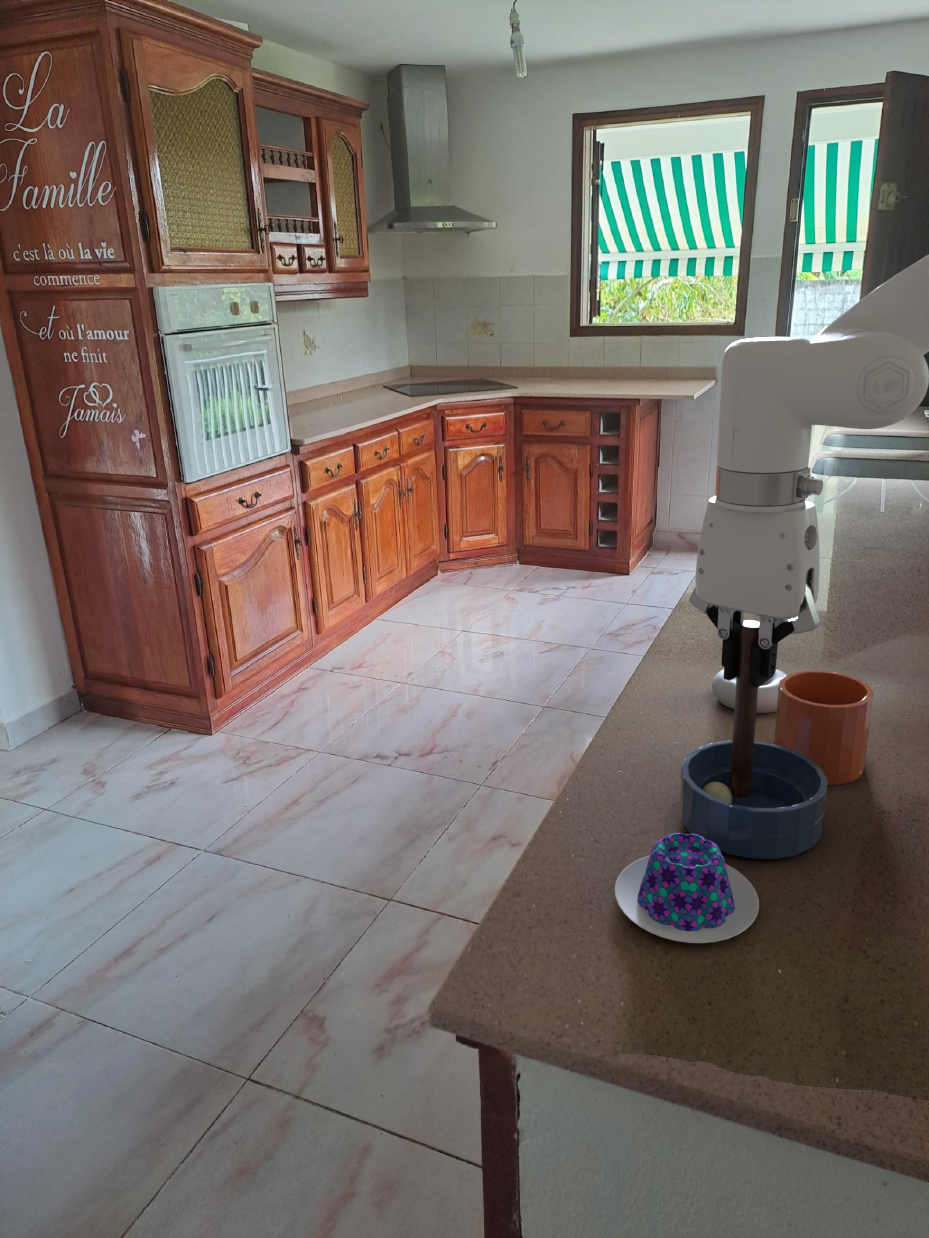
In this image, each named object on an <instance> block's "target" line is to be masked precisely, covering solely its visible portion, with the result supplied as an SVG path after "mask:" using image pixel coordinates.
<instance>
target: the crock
mask: <svg viewBox="0 0 929 1238" xmlns="http://www.w3.org/2000/svg"><path fill="white" fill-rule="evenodd" d="M873 700H874V690H873V689H872V688H871V686H870V685H869V684H868V683H866V682H865V681H863V680H861V679H860V678H858V677H855V676H852V675H849V674H845V673H842V672H837V671H832V670H831V671H830V670H824V669H808V670H807V669H806V670H800V671H794V672H792V673H788V674H786V676H784V677H783V678H782V679H781V680H780V682H779V686H778V699H777V711H775V712H776V713H775V726H774V738H773V744H776V745H779V746H782V747H785V748H788V749H792V750H794V751H796V752H798V753H800V754H802V755H804V756H806V757H808V758H810V759H811V760H812V761H813V762H814V763H816V764H817V765H818V766H819V767H820V768H821V769H822V770H823V772H824V774H825V776H826V778H827V780H828V784H827V786H834V785H835V786H837V785H844V784H849V783H852V782H854V781H856V780H859V778H861V777H862V775H863V774H864V771H865V764H866V757H867V748H868V739H869V732H870V726H871V725H870V724H871V715H872V707H873Z"/></svg>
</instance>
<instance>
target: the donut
mask: <svg viewBox="0 0 929 1238" xmlns="http://www.w3.org/2000/svg"><path fill="white" fill-rule="evenodd" d="M786 675H787V674H786V673H785V672H783V671H781V670H780V669H778V668H776V671H775V674H774V676H773V677H772V678H770V679H769V680H768V681H766V682H765V683H764V684H762V685H761V686H760V687H758V695H757V709H756V714H769V713H775V712H776V711H777V699H778V686H779V682H780V680H781V679H782V678H783V677H784V676H786ZM711 690H712V694H713V695H714V697H715V698H716V699H717V700H718V701H719V702H720V703H721V704H722V705H724V706H725V707H728V708H729V709H732V710H734V708H735V693H736V677H735V678H734V679H732V680H730V681H729V680H726V679H724V668H723V669H722V670H720V671H718V672H717V673H716V674H715V676H714V678H713V679H712V682H711Z"/></svg>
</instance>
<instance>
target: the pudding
mask: <svg viewBox="0 0 929 1238" xmlns="http://www.w3.org/2000/svg"><path fill="white" fill-rule="evenodd" d="M614 897H615V899H616V902H617V905H618V907H619V908H620V910H621V911H622V913H623V914H624V915H625V916H626V917H627V918H628V919H629V920H630V921H631V922H632V923H634V924H635V925H637V926H638V927H639V928H641V929H643V930H645V931H646V932H649V933H650V934H653V935H654V936H655V935H656V936H658V937H661V938H663V939H667V940H670V941H675V942H682V943H687V944H706V943H715V942H716V943H717V942H720V941H725V940H729V939H731V938H733V937H735V936H738V935H740V934H741V933H743V932H744V931H746V930H747V929H748V928H749V927H750V926H751V925H752V924H753V923H754V921H756V919H757V917H758V914H759V909H760V902H759V896H758V894H757V891H756V889H755V887H754V886H753V884H752V883H751V882H750V881H749V879H748V878H746V876H745V875H743V874H742V873H740V872H739V871H738V870H737V869H736V868H734V867H733V866H730V865H729V864H727V863H726V860H725V858H724V856H723V855H722V851H720V849H719V848H718V846H717V845H716V844H715V843H713V842H712V841H709V840H705V839H704V838H703V837H702V836H700V835H697V834H691V833H688V834H685V833H682V832H674V833H671V834H669V835H668V836H667V837H661V838H659V839H658V840H656V842H655V843H654V844H653V846H652V848H651V850H650V854H649V855H647V856H644V857H641V858H638V859H636V860H634V861H633V862H631V863H630V864H628V865H626V867H625V868H623V869H622V871H621V872H620V873H619V875H618V876H617V879H616V881H615V885H614Z"/></svg>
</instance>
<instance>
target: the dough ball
mask: <svg viewBox="0 0 929 1238" xmlns="http://www.w3.org/2000/svg"><path fill="white" fill-rule="evenodd" d="M702 790H703V791H704V792H706V793H708V794H709V795H711V796H712V797H714V798H717V799H720V800H723V801H725V802H728V803H732V794H731V791H730V790H729V788H728V787H727V786H726V785H724V784H723V783H720V782H711V783H709V784H707V785H706V786H705V787H704V788H703V789H702Z"/></svg>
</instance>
